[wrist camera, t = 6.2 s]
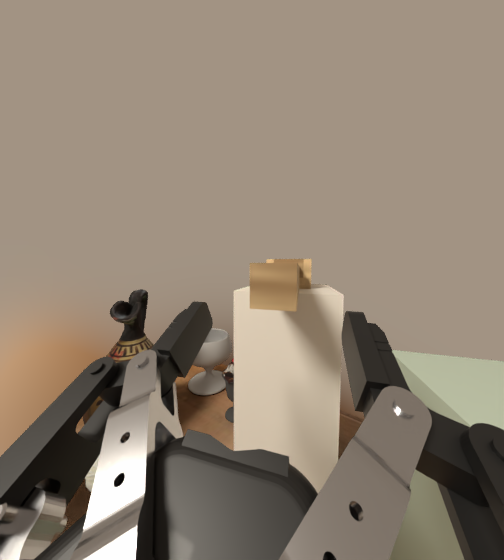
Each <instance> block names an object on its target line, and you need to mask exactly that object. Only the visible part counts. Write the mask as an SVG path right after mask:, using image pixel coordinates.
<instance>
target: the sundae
mask: <svg viewBox="0 0 504 560" xmlns="http://www.w3.org/2000/svg"><path fill="white" fill-rule="evenodd" d="M222 377H223V379H224V380H225V384H226V391H227V396H228V398H229V399H230V400H231V401H232V402H233V407H231V408H229V409H228V410H227V411H226V414H225V416H226V419H227V420H228V421H230V422H233V423H234V359H232V362H231V363H230V364H229V365H228V367H227V369H225V370H224V371H223V372H222Z"/></svg>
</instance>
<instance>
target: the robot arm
mask: <svg viewBox="0 0 504 560" xmlns="http://www.w3.org/2000/svg"><path fill="white" fill-rule="evenodd" d="M211 328H212V317H211V314H210V312H209V309H208V306H207V303H205V302H193V303H192V304H191V305H190V306H189V308H188V309H185V310H184V311H182V312H181V313H180V314H179V315H178V316H177V317H176V318H175V319H174V320H173V323H171V324H170V326H169V328H167V329H166V331H165V332H164V333H163V335H162V336H161V337H160V338H159V340H158V341H157V342H156V343H155V344H154V346H153V347H152V348H151V349H150V350H145V351H142V352H140V353H138V354H137V355H135V356H134V357H133V358H132V359H131V360H129V361H123V362H117V363H116V362H115V361H114V360H113V358H111V357H103V358H100V359H98V360H96V361H95V362H93V363H91V364H90V365H89V366H88V367H87V368H86V369H85V370H84V371H83V372H82V373H81V374H80V375H79V376H78V377H77V378H76V379H75V380H74V381H73V382H72V383H71V384H70V385H69V386H68V388H66V389H65V390H64V392H63V393H62V394H61V395H60V396H59V397H58V398H57V399H56V400H55V401H54V402H53V403H52V404H51V405H50V406H49V407H48V408H47V409H46V410H45V411H44V412H43V413H42V414H41V415H40V416H39V417H38V418H37V419H36V421H35V422H34V423H33V424H32V425H31V426H30V427H29V428H28V429H27V430H26V431H25V432H24V433H23V434H22V435H21V436H20V437H19V438H18V439H17V440H16V441H15V442H14V443H13V444H12V445H11V446H10V448H9V449H7V450H6V451H5V453H4V454H3V455H2V456H1V457H0V560H389V558H390V555H391V552H392V550H393V547H394V544H395V541H396V538H397V536H398V533H399V530H400V527H401V524H402V521H403V519H404V516H405V513H406V510H407V507H408V504H409V501H410V496H411V489H410V483H411V479H412V477H413V474H414V471H415V470H417V471H419V472H420V473H422V474H424V475H426V476H427V477H429V478H431V479H432V480H434V481H436V482H437V484H438V487H439V490H440V492H441V495H442V498H443V501H444V504H445V507H446V509H447V512H448V515H449V518H450V521H451V523H452V526H453V529H454V532H455V535H456V538H457V540H458V543H459V546H460V549H461V552H462V554H463V557H464V560H504V430H503V429H501V428H498V427H496V426H493V425H490V424H486V423H476V424H474V425H472V426H471V427H468V426H466V425H464V424H461V423H459V422H457V421H454V420H452V419H450V418H448V417H445V416H443V415H441V414H438V413H436V412H434V411H433V410H431V409H429V408H428V407H427V406H426V405H425V404H424V403H423V402H422V401H421V400H420V399H419V398H418V397H417V396H416V395H414V394H413V393H412V392H411V390H410V389H409V387H408V385H407V383H406V380H405V378H404V376H403V374H402V371H401V369H400V367H399V365H398V363H397V360H396V358H395V356H394V354H393V353H392V349H391V347H390V345H389V344H388V340H387V338H386V336H385V333H384V332H383V331H382V330H381V329H380V328H379V327H378V326H377V325H376V324H372V323H367V320H366V318H365V315H364V313H363V312H351V311H346V313H345V317H344V322H343V327H342V334H341V339H342V346H343V351H344V356H345V361H346V366H347V371H348V376H349V382H350V387H351V392H352V396H353V402H354V407H355V411H360V412H363V413H364V416H365V419H364V421H363V422H362V424H361V426H360V427H359V429H358V431H357V432H356V434H355V435H354V436H353V438H352V439H351V441H350V442H349V444H348V446H347V447H346V449H345V451H344V452H343V454H342V455H341V457H340V459H339V460H338V462H337V464H336V465H335V467H334V469H333V470H332V472H331V474H330V475H329V477H328V479H327V480H326V482H325V484H324V485H323V487H322V489H321V490H320V492H319V494H318V493H317V491H316V490H315V488H314V487H313V486H312V484H311V483H310V482H309V480H308V479H307V478H306V477H305V476H304V475H303V474H302V473H301V472H300V471H299V470H298V469H296V468H295V467H294V466H292V465H291V464H289V456H286V455H282V454H278V453H274V452H271V451H267V450H263V449H254V450H241V451H232V450H230V449H229V448H227V447H226V446H224V445H223V444H222V443H220V442H219V441H218V440H216V439H215V438H213V437H212V436H211V435H208V434H204V433H201V432H197V431H193V430H189V429H188V430H187V433H186V435H185V437H183V432H182V428H181V425H180V423H179V418H178V407H177V394H176V383H175V380H176V378H177V376H178V377H184V378H185V377H186V375H187V373H188V371H189V370H190V368H191V366H192V364H193V362H194V360H195V358H196V356H197V355H198V353H199V351H200V349H201V347H202V345H203V343H204V342H205V340H206V338H207V336H208V334H209V332H210V330H211ZM98 396H99V397H100V398H101V399H102V400H103V402H102V403H101V404H100V406H99V407H98V408H97V409H96V411H95V412H94V413H93V415H92V416H91V417H90V419H89V420H88V421H87V422H86V424H85V425H84V426H83V428H82V429H81V430H80V432H79V433H78V434H77V433H76V425H77V423H78V422H79V420H80V419H81V418H82V416H83V415H84V414H85V413H86V411H87V410H88V409H89V408H90V406H91V405H92V404H93V403H94V401H95V400H96V399H97V398H98ZM99 455H100V456H99ZM98 457H99V461H98V465H97V470H96V475H95V479H94V484H93V488H92V493H91V498H90V502H89V507H88V511H87V513H86V514H85V515H83V516H82V517H81V518H80V519H79V520H78V521H77V522H75V523H74V524H73V525H72V526H71V527H70V528H69V529H68V530H66V531H65V532H64V533H63V534H62V535H61V536H60V537H59V535H60V534H61V533H62V532H63V530H64V528H65V526H66V523H67V516H65V515H64V513H65V510H66V507H67V505H68V503H69V502H70V500H71V499H72V497H73V496H74V494H75V492H76V491H77V489H78V488H79V486H80V485H81V483H82V482H83V480H84V478H85V477H86V475H87V474H88V472H89V471H90V469H91V467H92V466H93V464H94V463H95V461H96V460H97V458H98ZM55 539H56V540H55ZM54 540H55V541H54ZM52 541H54V542H53V543H52V544H51V545H50V543H51V542H52Z"/></svg>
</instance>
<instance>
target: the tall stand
mask: <svg viewBox="0 0 504 560" xmlns="http://www.w3.org/2000/svg"><path fill="white" fill-rule="evenodd" d="M343 301H344V295H343V294H341V293H339V292H338V291H336V290H334V289H333V288H331V287H329V286H328V285H326V284H311V289H299V294H298V303H297V311H296V312H295V311H279V310H263V309H250V286H248V287H245V288H241V289H238V290H235V291H234V451H241V450H254V449H263V450H267V451H271V452H274V453H278V454H282V455H286V456H289V464H291V465H292V466H294V467H295V468H296V469H298V470H299V471H300V472H301V473H302V474H303V475H304V476H305V477H306V478H307V479H308V480H309V482H310V483H311V484H312V486H313V487H314V488H315V490H316V491H317V493H318V494H319V492H320V490H321V489H322V487H323V485H324V484H325V482H326V480H327V479H328V477H329V475H330V474H331V472H332V470H333V469H334V467H335V465H336V464H337V462H338V446H339V417H340V388H341V357H342V339H341V334H342V327H343Z"/></svg>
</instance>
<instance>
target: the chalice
mask: <svg viewBox="0 0 504 560" xmlns="http://www.w3.org/2000/svg"><path fill="white" fill-rule="evenodd" d="M231 352H232V343H231V339H230V336H229V334H228V333H227V332H226V331H225V330H222V329H213V328H212V329H211V330H210V332H209V334H208V336H207V338H206V340H205V342H204V343H203V345H202V347H201V349H200V351H199V353H198V355H197V356H196V358H195V360H194V362H193V364H192V365H194V366H197V367H203V368H204V369H205V370H206V371H204V372H201V373H199V374H197V375H195V376H194V377H193V378H192V379H191V380H190V381H189V383H188V388H189V390H190V391H191V392H192V393H194V394H197V395H211V394H215V393H218V392H220V391H222V390H223V389H225V388H226V384H225V380H224V379H223V377H222V372H221V371H216V370H212V369H213V368H214V367H215V366H217V365H219V364H221V363H223V362H224V361H226V360H227V359H228V358H229V356H230V355H231Z"/></svg>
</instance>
